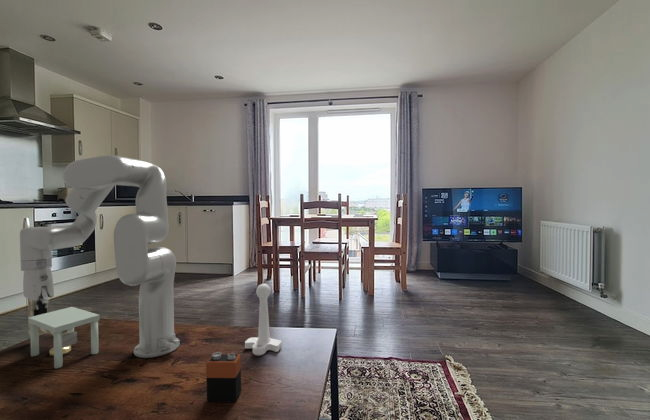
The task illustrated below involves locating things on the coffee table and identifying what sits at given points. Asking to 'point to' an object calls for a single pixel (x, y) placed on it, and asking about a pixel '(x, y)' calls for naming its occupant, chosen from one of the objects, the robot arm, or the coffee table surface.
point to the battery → (223, 377)
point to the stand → (62, 329)
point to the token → (64, 350)
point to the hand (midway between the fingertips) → (38, 319)
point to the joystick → (263, 326)
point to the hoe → (66, 337)
